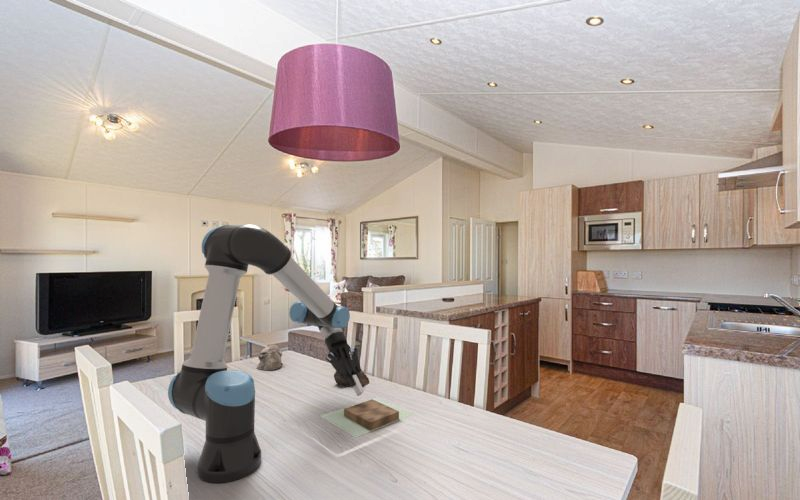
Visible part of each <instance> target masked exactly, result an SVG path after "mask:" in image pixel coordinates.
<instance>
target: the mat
mask: <svg viewBox="0 0 800 500" xmlns="http://www.w3.org/2000/svg"><path fill="white" fill-rule="evenodd" d="M371 399H373V400H375V401H377V402H379V403H382V404H384V405H386V406H388V407H390V408H393V409H395V410H397V411H399V419H398V420H395V421H393V422H390V423H388V424H385V425H383V426H380V427H378V428H375V429H373V430H371V431H370V430H368V429H366V428H365V427H363V426H361V425H359V424H357V423H356V422H354V421H352V420H350V419H348V418H347V417H345V416H344V409H345V408H348V407H351V406H354V405H357V404H360V403H362V402H365V401H368V400H371ZM412 415H414V414H413V413H411V412H409V411H407V410H405V409H402V408H400V407H397V406H396V405H393V404H391V403H389V402H386V401H384V400H382V399H380V398H377V397H373V398H370V399H367V400H363V401H361V402H358V403H354V404H353V405H349V406H346V407H343V408H340V409H337V410H334V411H331V412H327V413H325V414H322V415H319V417H320V418H322V419H323V420H325V421H327V422H329V423H330V424H332V425H334V426H335V427H336V428H337V429H340V430H342V431H343V432H345V433H347V434H348V435H350V436H352V437H353V438H359V437H360V436H364V435H366V434H369V433H370V432H373V431H376V430H378V429H380V428H383V427H385V426H388V425H390V424H392V423H395V422H397V421H401V420H403V419H404V418H407V417H410V416H412Z"/></svg>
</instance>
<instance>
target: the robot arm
mask: <svg viewBox="0 0 800 500" xmlns="http://www.w3.org/2000/svg"><path fill="white" fill-rule="evenodd" d="M201 253H202V254H203V256H204V259H205V264H204V268H205V269H206V271H207V272H208V277H207V280H206V281H207V282H206V286H205V290H204V295H203V299H202V303H201V308H200V310H199V311H200V313H199V316H198V320H197V321H198V322H197V325H196V330H195V334H194V338H193V339H194V340H193V343H192V348H191V353H190V356H189V358H188V359H186V360H185V361H183V362H182V364H181V369H180V371H178V372H177V374H176V375H173V377H172V378H171V380H170V382H169V385H168V389H167V395H168V400H169V402H170V404H171V405H172V407H173V408H175V409H176V410H178V412H180V413H182V414H184V415H187V416H191V417H194V418H196V419H199V420H201V421H205V442H204V444H203V447H202V450H201V454H200V456H199V458H198V459H199V460H198V463H197V476H198V478H199V479H200V480H202V481H204V482H207V483H213V484H214V483H215V484H219V483H220V484H222V483H229V482H233V481H236V480H240V479H243V478H244V477H247V476H249V475H250V474H251V473H253V472H255V471H256V470H257V469H258V468H259V467H260V465H261V463H262V449H261V446H260V443H259V441H258V439H257V435H256V432H255V416H256V415H255V414H256V413H255V412H256V411H255V408H256V406H255V405H256V387H255V380H254V378H253V376H252V375H251V374H250V373H248V372H245V371H242V370H232V369H228V364H227V362H225V360H224V358H225V352H226V347H227V345H228V344H227V343H228V339H229V334H230V331H231V330H230V329H231V324H232V319H233V313H234V309H235V306H236V305H235V304H236V300H237V297H238V296H237V294H238V290H239V285H240V280H241V278H242V277H244V276H245V275H247V273H248V268H249V265H250V266H253V267H256V268H259V269H260V270H261V271H262V272H264V273H265V274H266V275H270V276H271V275H272V276H273V277H274V278H275V279H276V280H277V281H279V282H280V284H282V285H283V286H284V287H285V288H286V289H287V290H288V291H289V292H290V293H291V294H292V295H294V297H295V298H296V299H298V300H299V301H296V302H294V303H292V304H291V306H290V308H289V313H288V314H289V319H290V320H291V321H292V322H295V323H297V324H303V325H304V324H305V325H312V326H317V328H318V330H319V333H320V334H321V338H322V339H323V341H324V343H325V346H326V348H327V350H328V352H329V353H328V354H327V355H326V357H325V360H326V361H327V362H329V363H330V364H331V366H332V367H333V369H334V370H335V372H336V371H337V373H338V374H339V375H340V377H341V378H342V379H344V378H346V379H345V380H348V381H349V383H350V385H351V388H353V389H354V392H355V394H356V396H357V397H359V396H362V394H363V393H364V391H365V390H364V388H363V386H362V385H361V380H360V378H359V376H358V374H359V373H360V372H361V370H362V368H361V365H360V364H361V363H360V361H359V356H358V348H356V347H354V348H352V347H351V345H349V344H348V340H347V338H346V336H345V334H344V332H343V328H346V326H348V324H349V323H350V322H349V321H350V319H351V318H350V317H351V314H350V311H349V309H348V308H347V307H346V306H342V305H337V304H336V303H335V302H334V301H333V300H332V298H330V296H328V294H327V293H326V292H325V291H324V290H323V289H322V288H321V286H319V285H318V284H317V282H316V281H315V280H313V278H311V276H310V275H309V274H308V273H307V272H306V271H305V270H304V269H303V268H302V266H300V264H299V263H298V262H296V260H295V259H294V258H293V257H292V251H291V250H290V249H289V248H288V247H287V246H286V245H285V244H284V242H283V241H281V240H280V239H279V238H278V237H276V236H275V235H274V234H273V233H271V232H270V231H268V230H267V229H265V228H263V227H261V226H260V225H256V224H251V223H249V224H235V225H234V224H226V225H225V224H224V225H220V226H216V227H214V228H212V229H211V230H209V231H208V232H207V233H206V234H205V235H204V236H203V239H202V241H201Z"/></svg>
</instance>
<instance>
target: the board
mask: <svg viewBox="0 0 800 500" xmlns="http://www.w3.org/2000/svg"><path fill="white" fill-rule="evenodd" d="M370 399H371V400H370ZM370 399H367V400H368V401H367V400H364V401H365V402H364V401H361V402H362V403H361V402H359V403H360V404H358V403H356V404H357V405H355V404H353V405H354V406H352V405H350V406H351V407H349V406H347V407H348V408H346V407H344V408H345V409H344V416H345V417H347V418H348V419H350V420H352V421H354V422H356V423H357V424H359V425H361V426H363V427H365V428H366V429H368V430H370V431H371V430H373V429H375V428H378V427H380V426H383V425H385V424H388V423H390V422H393V421H395V420H398V419H399V411H397V410H395V409H393V408H390V407H388V406H386V405H384V404H382V403H379V402H377V401H375V400H373V398H370ZM398 421H399V420H398ZM395 422H396V421H395ZM393 423H394V422H393ZM388 425H389V424H388ZM383 427H384V426H383ZM378 429H379V428H378ZM373 431H374V430H373ZM371 432H372V431H371Z"/></svg>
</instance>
